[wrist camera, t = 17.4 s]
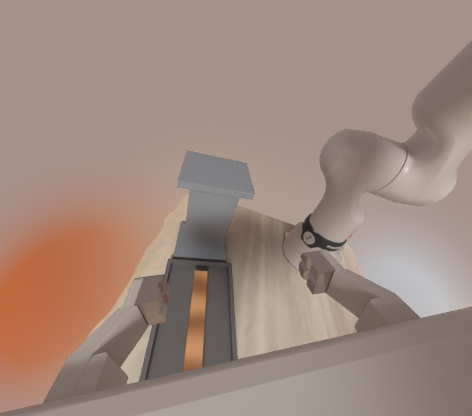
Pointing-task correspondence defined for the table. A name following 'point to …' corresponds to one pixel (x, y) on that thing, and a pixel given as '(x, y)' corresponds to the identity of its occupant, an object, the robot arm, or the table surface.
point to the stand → (210, 205)
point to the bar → (196, 323)
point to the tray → (175, 327)
